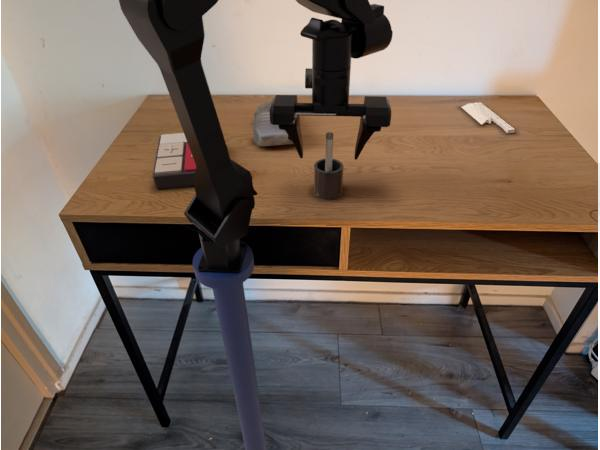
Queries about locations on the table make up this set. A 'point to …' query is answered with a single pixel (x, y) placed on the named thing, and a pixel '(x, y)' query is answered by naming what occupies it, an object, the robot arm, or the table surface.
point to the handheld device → (267, 128)
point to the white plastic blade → (486, 116)
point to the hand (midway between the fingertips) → (328, 157)
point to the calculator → (173, 162)
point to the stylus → (329, 152)
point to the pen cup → (328, 180)
